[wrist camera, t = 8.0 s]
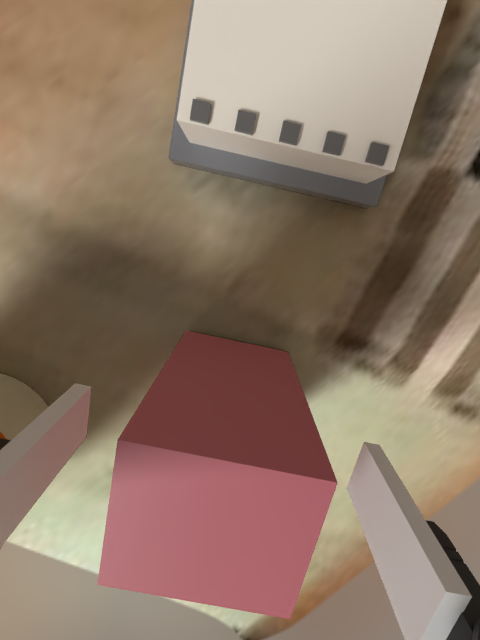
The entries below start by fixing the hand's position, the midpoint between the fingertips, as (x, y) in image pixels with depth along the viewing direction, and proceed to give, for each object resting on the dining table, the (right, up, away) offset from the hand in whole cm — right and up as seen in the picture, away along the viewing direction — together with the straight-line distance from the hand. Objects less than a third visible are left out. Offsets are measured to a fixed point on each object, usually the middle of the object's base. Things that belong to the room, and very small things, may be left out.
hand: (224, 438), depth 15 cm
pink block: (0, +1, +7) cm, 7 cm away
